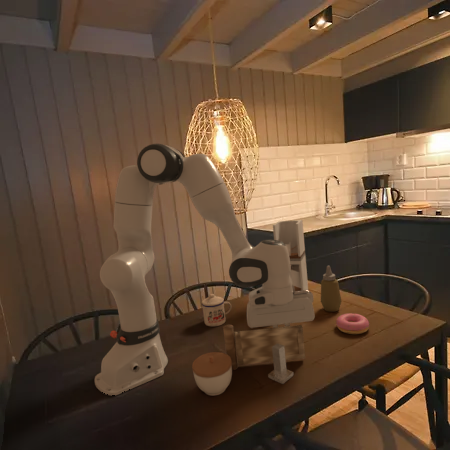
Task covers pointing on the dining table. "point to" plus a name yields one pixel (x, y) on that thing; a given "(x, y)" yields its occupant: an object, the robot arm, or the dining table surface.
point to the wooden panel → (269, 344)
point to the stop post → (279, 365)
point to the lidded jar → (212, 372)
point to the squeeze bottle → (330, 292)
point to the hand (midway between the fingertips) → (282, 336)
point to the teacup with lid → (214, 310)
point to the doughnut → (352, 323)
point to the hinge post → (230, 344)
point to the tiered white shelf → (294, 250)
